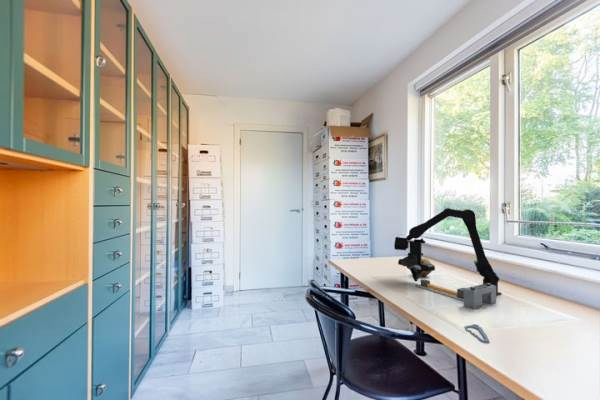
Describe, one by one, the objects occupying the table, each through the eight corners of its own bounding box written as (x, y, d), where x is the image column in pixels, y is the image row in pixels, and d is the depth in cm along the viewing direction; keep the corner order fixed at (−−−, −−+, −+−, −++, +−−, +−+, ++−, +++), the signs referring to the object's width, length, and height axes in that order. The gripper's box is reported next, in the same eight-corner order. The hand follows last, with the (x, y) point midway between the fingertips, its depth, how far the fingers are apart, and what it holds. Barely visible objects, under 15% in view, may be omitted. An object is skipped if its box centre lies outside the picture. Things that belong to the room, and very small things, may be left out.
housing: (429, 282, 144) (429, 268, 144) (496, 302, 116) (496, 284, 116) (407, 287, 137) (407, 271, 137) (473, 309, 108) (473, 289, 108)
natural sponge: (436, 278, 153) (436, 260, 153) (419, 278, 153) (419, 260, 153) (428, 274, 162) (428, 257, 162) (413, 274, 162) (413, 257, 162)
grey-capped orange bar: (419, 286, 138) (419, 278, 139) (425, 285, 141) (425, 277, 141) (466, 301, 118) (466, 291, 118) (472, 299, 120) (472, 290, 120)
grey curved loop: (472, 343, 83) (491, 344, 82) (472, 340, 83) (491, 341, 82) (463, 326, 95) (479, 327, 93) (462, 323, 95) (479, 324, 93)
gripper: (390, 249, 148) (390, 278, 148) (420, 255, 132) (420, 288, 131) (405, 248, 153) (405, 276, 153) (435, 253, 137) (435, 285, 136)
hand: (415, 281), depth 143 cm, fingers closed
